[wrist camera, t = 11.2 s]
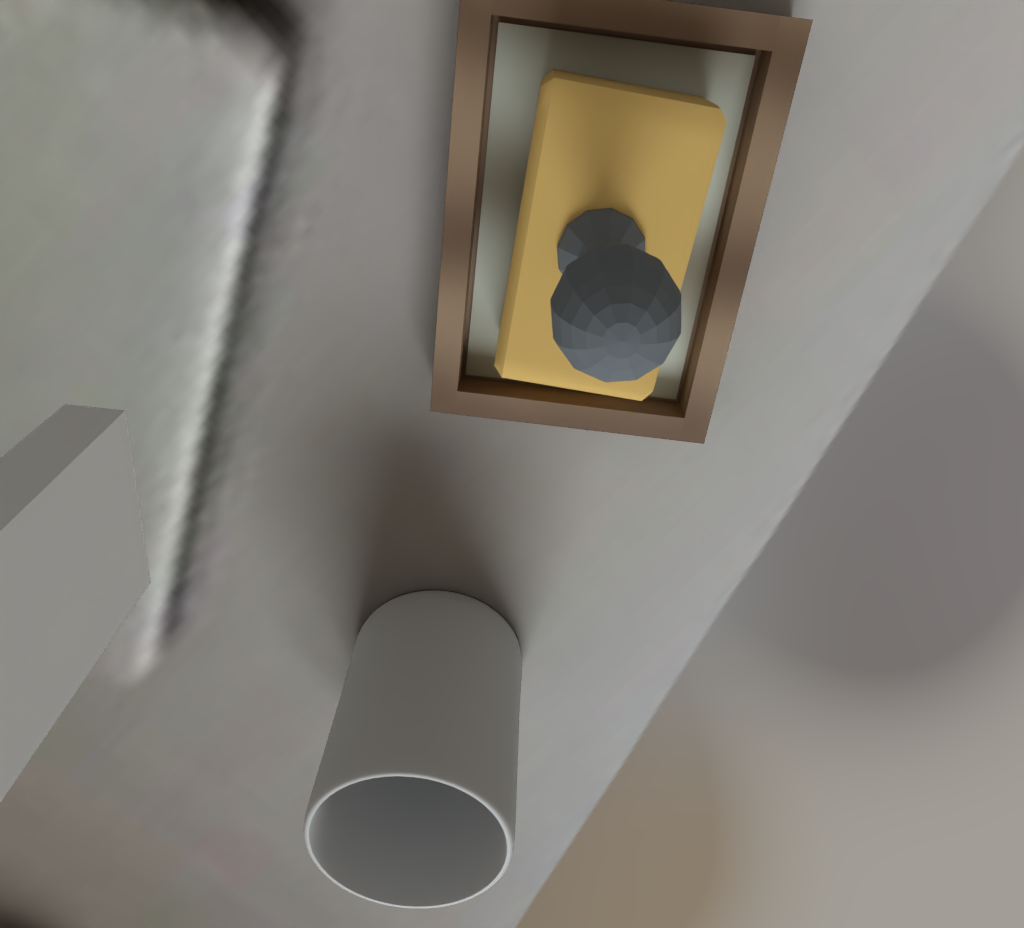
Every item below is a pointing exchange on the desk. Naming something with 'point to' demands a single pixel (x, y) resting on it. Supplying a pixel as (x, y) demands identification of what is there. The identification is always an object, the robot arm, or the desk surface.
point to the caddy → (502, 168)
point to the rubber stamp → (605, 233)
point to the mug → (421, 756)
